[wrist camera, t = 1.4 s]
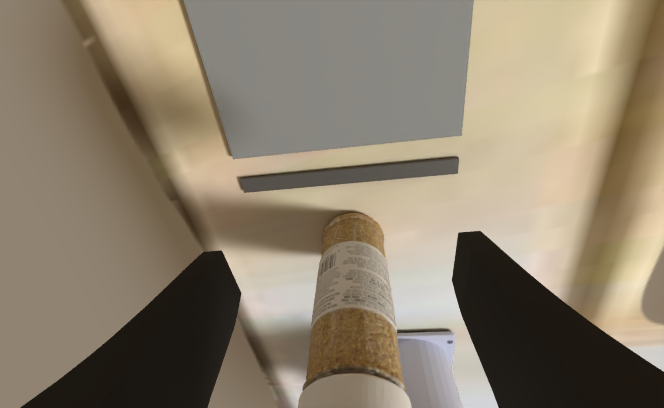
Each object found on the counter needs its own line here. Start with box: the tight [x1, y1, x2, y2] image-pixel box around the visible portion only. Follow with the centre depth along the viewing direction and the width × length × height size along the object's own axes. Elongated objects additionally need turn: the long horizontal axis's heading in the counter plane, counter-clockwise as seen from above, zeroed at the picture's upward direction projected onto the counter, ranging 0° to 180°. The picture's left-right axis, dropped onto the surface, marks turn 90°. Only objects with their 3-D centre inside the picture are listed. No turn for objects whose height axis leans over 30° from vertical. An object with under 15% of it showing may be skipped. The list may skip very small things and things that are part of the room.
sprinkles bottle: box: [298, 213, 412, 408], centre depth 17 cm, size 5×5×14 cm
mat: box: [183, 0, 474, 159], centre depth 16 cm, size 10×14×1 cm
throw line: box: [240, 157, 459, 193], centre depth 20 cm, size 1×14×1 cm, turn 97°
